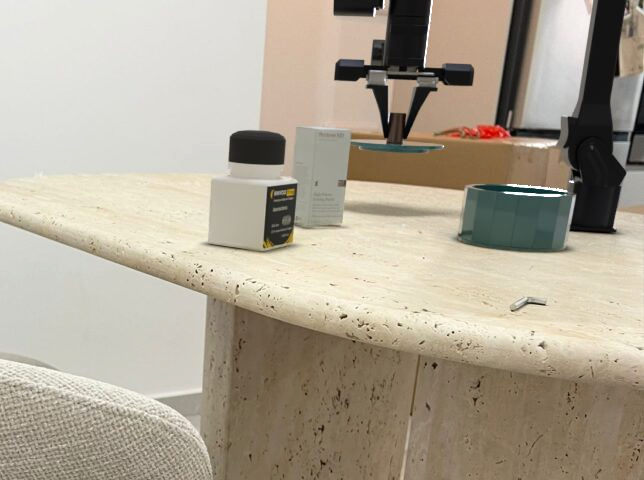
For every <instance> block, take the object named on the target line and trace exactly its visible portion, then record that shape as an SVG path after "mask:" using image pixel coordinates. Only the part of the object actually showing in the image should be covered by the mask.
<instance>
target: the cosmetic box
mask: <svg viewBox="0 0 644 480" xmlns="http://www.w3.org/2000/svg"><path fill="white" fill-rule="evenodd" d="M351 140H352V129H350V128H339V127H327V126H308V125H307V126H305V125H304V126H302V125H297V126H296V127H295V136H294V146H293V148H294V149H293V159H292V171H291V178H292V179H296V180H297V182H298V185H297V197H296V209H295V221H294V226H296V227H300V228H307V229H308V228H335V227H336V228H337V227H339V228H340V227H341V225H339V224H343V220H344V210H345V209H344V208H345V199H346V191H347V181H348V170H349V159H350V149H351V145H350V141H351Z"/></svg>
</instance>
